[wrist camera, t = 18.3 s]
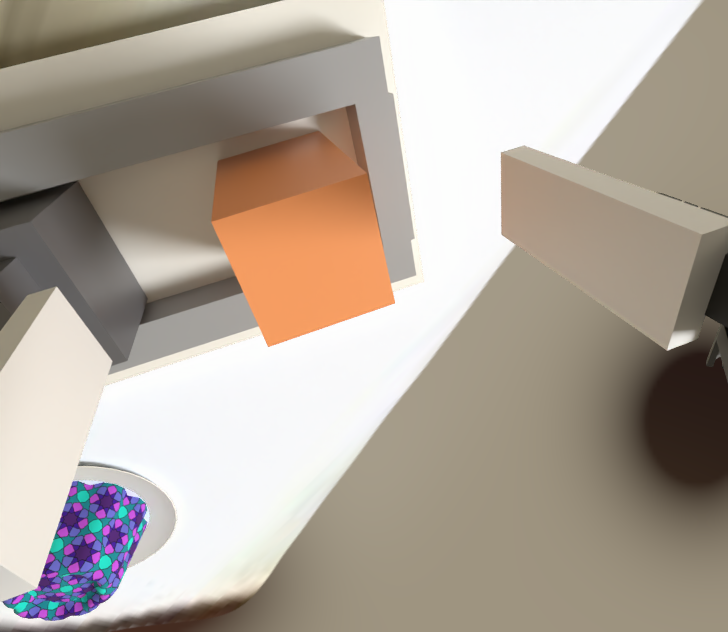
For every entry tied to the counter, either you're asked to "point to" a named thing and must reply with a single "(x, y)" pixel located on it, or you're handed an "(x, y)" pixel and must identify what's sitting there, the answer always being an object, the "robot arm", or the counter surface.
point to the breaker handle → (69, 264)
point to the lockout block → (301, 235)
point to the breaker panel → (206, 147)
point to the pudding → (97, 543)
